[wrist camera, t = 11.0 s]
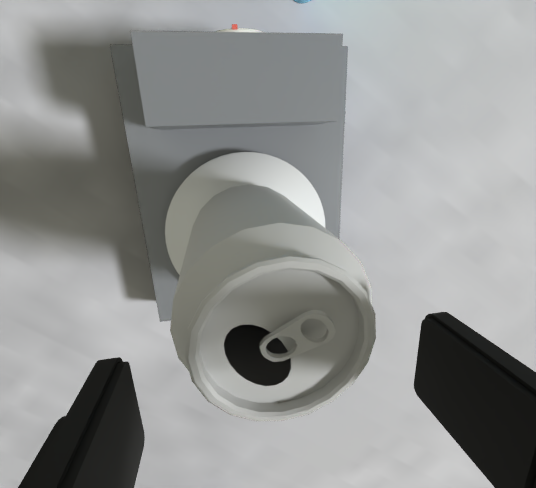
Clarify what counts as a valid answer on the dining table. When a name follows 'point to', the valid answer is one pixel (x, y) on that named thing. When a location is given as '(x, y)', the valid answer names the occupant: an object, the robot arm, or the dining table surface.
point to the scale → (229, 128)
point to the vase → (302, 1)
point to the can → (270, 308)
